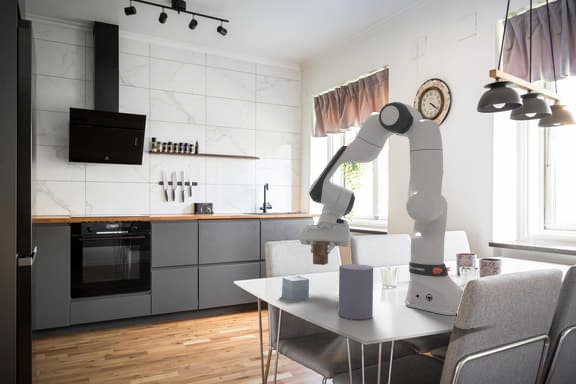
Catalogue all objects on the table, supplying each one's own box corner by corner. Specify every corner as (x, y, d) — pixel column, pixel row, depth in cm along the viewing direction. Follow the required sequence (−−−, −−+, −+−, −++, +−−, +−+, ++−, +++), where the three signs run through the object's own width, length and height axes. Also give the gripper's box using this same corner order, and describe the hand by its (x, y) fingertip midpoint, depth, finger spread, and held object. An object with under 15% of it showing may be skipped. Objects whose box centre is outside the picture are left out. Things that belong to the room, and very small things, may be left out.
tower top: (308, 289, 153) (309, 279, 153) (291, 290, 149) (292, 280, 149) (298, 285, 159) (299, 276, 159) (282, 287, 156) (282, 277, 156)
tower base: (308, 298, 153) (308, 289, 153) (292, 301, 149) (292, 291, 149) (298, 295, 159) (298, 285, 159) (281, 297, 155) (282, 287, 155)
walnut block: (328, 263, 165) (327, 242, 165) (324, 264, 161) (323, 243, 161) (317, 262, 167) (317, 242, 167) (312, 264, 163) (312, 243, 163)
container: (379, 316, 131) (379, 267, 131) (359, 322, 124) (360, 270, 124) (352, 309, 138) (352, 263, 138) (331, 315, 131) (332, 266, 131)
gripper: (302, 219, 175) (292, 246, 166) (350, 220, 167) (343, 248, 158) (306, 230, 179) (297, 256, 170) (353, 231, 171) (346, 259, 162)
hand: (319, 252), depth 164 cm, fingers closed on walnut block, 4 cm apart
